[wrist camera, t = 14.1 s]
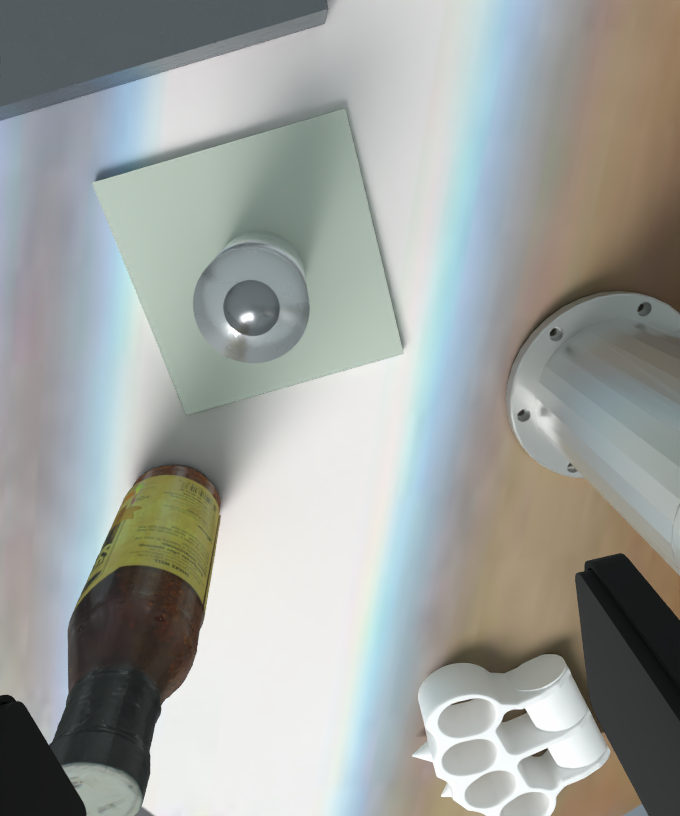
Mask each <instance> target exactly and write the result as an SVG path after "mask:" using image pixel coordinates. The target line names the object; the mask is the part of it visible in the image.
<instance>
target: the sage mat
mask: <svg viewBox="0 0 680 816" xmlns="http://www.w3.org/2000/svg"><path fill="white" fill-rule="evenodd" d="M92 184H93V187H94V189H95V192H96V194H97V197H98V199H99V202H100V204H101V207H102V209H103V212H104V214H105V216H106V219H107V221H108V224H109V226H110V229H111V231H112V234H113V236H114V239H115V241H116V243H117V246H118V248H119V251H120V253H121V256H122V258H123V261H124V263H125V266H126V268H127V271H128V273H129V275H130V278H131V280H132V283H133V285H134V288H135V290H136V293H137V295H138V298H139V300H140V303H141V305H142V307H143V310H144V312H145V315H146V317H147V320H148V322H149V325H150V327H151V330H152V332H153V335H154V337H155V339H156V342H157V344H158V347H159V349H160V352H161V354H162V357H163V359H164V362H165V364H166V367H167V369H168V371H169V374H170V376H171V379H172V381H173V384H174V386H175V389H176V391H177V394H178V396H179V399H180V401H181V403H182V406H183V408H184V411H185V413H186V415H190V414H193V413H197V412H200V411H204V410H207V409H211V408H214V407H218V406H221V405H225V404H228V403H232V402H235V401H239V400H243V399H246V398H250V397H253V396H257V395H260V394H264V393H267V392H271V391H274V390H278V389H281V388H285V387H288V386H292V385H295V384H299V383H302V382H306V381H309V380H313V379H316V378H320V377H324V376H327V375H331V374H334V373H338V372H341V371H345V370H348V369H352V368H355V367H359V366H362V365H366V364H369V363H373V362H376V361H380V360H383V359H387V358H390V357H394V356H397V355H401V354H404V353H403V349H402V345H401V341H400V336H399V332H398V328H397V324H396V319H395V315H394V311H393V307H392V303H391V298H390V294H389V290H388V286H387V282H386V277H385V273H384V269H383V265H382V260H381V256H380V252H379V248H378V244H377V239H376V235H375V231H374V227H373V223H372V218H371V214H370V210H369V206H368V201H367V197H366V193H365V189H364V185H363V180H362V176H361V172H360V168H359V164H358V159H357V155H356V151H355V147H354V142H353V138H352V134H351V130H350V126H349V121H348V117H347V113H346V109H345V108H344V109H341V110H337V111H334V112H330V113H327V114H324V115H320V116H317V117H313V118H310V119H307V120H303V121H300V122H297V123H293V124H290V125H286V126H283V127H280V128H276V129H273V130H269V131H266V132H263V133H259V134H256V135H252V136H249V137H246V138H242V139H239V140H235V141H232V142H229V143H225V144H222V145H218V146H215V147H212V148H208V149H205V150H201V151H198V152H195V153H191V154H188V155H185V156H181V157H178V158H174V159H171V160H168V161H164V162H161V163H157V164H154V165H151V166H147V167H144V168H140V169H137V170H134V171H130V172H127V173H123V174H120V175H117V176H113V177H110V178H106V179H103V180H100V181H96V182H93V183H92ZM254 230H264V231H270V232H273V233H276V234H278V235H280V236H282V237H283V238H285V239H286V240H288V241H289V242H290V243H291V244H292V245H293V246H294V247H295V249H296V250H297V252H298V253H299V255H300V257H301V260H302V263H303V267H304V272H305V278H306V284H307V290H308V296H309V304H310V313H309V319H308V323H307V327H306V329H305V331H304V334H303V335H302V337H301V339H300V340H299V341H298V343H297V344H296V345H295V346H294V347H293V348H292V349H291V350H290V351H289V352H287V353H286V354H284V355H283V356H281V357H279V358H277V359H274V360H272V361H268V362H264V363H244V362H239V361H235V360H232V359H230V358H228V357H226V356H224V355H222V354H220V353H219V352H218V351H216V350H215V349H214V348H213V347H212V346H211V345H210V344H209V343H208V342H207V341H206V340H205V338H204V337H203V335H202V334H201V332H200V330H199V328H198V326H197V324H196V320H195V317H194V311H193V296H194V291H195V287H196V284H197V282H198V280H199V278H200V276H201V274H202V273H203V271H204V270H205V269H206V267H207V266H208V265H209V264H210V263H211V262H212V261H213V260H214V259H215V257H216V256H217V255H218V254H219V253H220V252H221V251H222V250H223V249H224V247H225V246H226V245H227V244H228V243H229V242H230V241H231V240H232V239H234V238H235V237H237V236H238V235H240V234H243V233H245V232H249V231H254Z"/></svg>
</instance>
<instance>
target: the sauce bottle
mask: <svg viewBox="0 0 680 816" xmlns="http://www.w3.org/2000/svg"><path fill="white" fill-rule="evenodd" d="M220 504H221V502H220V497H219V495H218V492H217V490H216V488H215V487H214V485H213V484H212V483H211V482H210V481H209V480H208V479H207V478H206V477H205V476H204V475H203V474H201V473H200V472H198V471H197V470H194V469H192V468H190V467H186V466H180V465H165V466H160V467H156V468H154V469H151V470H149V471H148V472H147V473H145V474H144V475H143V476H141V477H139V478H138V479H137V481H136V482H135V484H134V485H133V487H132V488H131V489H130V490H129V492H128V493H127V495H126V496H125V498H124V500H123V502H122V505H121V507H120V509H119V511H118V513H117V516H116V518H115V520H114V522H113V525H112V527H111V529H110V531H109V534H108V536H107V538H106V540H105V542H104V544H103V546H102V549H101V551H100V554H99V555H98V557H97V559H96V562H95V565H94V566H93V569H92V571H91V573H90V576H89V578H88V580H87V583H86V585H85V587H84V589H83V591H82V593H81V596H80V598H79V600H78V602H77V604H76V607H75V610H74V612H73V614H72V617H71V619H70V622H69V627H68V688H69V694H68V697H67V701H66V708H65V710H64V713H63V715H62V718H61V721H60V723H59V725H58V728H57V731H56V733H55V737H54V739H53V742H52V743H51V744H50V745H49V746H50V748H51V750H52V751H53V753H54V755H55V756H56V758H57V760H58V761H59V763H60V765H61V766H62V768H63V769H64V771H65V773H66V774H67V776H68V778H69V779H70V781H71V783H72V784H73V786H74V788H75V789H76V791H77V793H78V794H79V796H80V798H81V799H82V801H83V803H84V805H85V807H86V813H87V816H135V815H136V813H137V812H138V811H139V809H140V808H141V806H142V803H143V799H144V796H145V792H146V788H147V783H148V780H149V776H150V753H149V751H150V746H151V742H152V738H153V733H154V727H155V723H156V722H157V720H158V718H159V716H160V714H161V705H162V703H163V702H164V700H165V699H166V698H168V697H170V695H171V694H172V693H173V692H175V691H176V690H177V689H178V688H179V687H180V686H181V685H182V683H183V682H184V680H185V679H186V677H187V675H188V673H189V671H190V669H191V667H192V665H193V661H194V658H195V655H196V652H197V645H198V637H199V631H200V628H201V626H202V624H203V621H204V616H205V610H206V604H207V598H208V592H209V586H210V580H211V574H212V568H213V562H214V556H215V550H216V544H217V537H218V531H219V525H220V518H221V516H220V515H219V512H220Z"/></svg>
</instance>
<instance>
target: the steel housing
mask: <svg viewBox="0 0 680 816" xmlns="http://www.w3.org/2000/svg"><path fill="white" fill-rule="evenodd" d="M327 11H328V7H327V2H326V0H0V121H1V120H4V119H7V118H11V117H14V116H17V115H21V114H24V113H27V112H31V111H34V110H38V109H41V108H44V107H48V106H51V105H54V104H58V103H61V102H64V101H68V100H71V99H74V98H78V97H81V96H84V95H88V94H91V93H95V92H98V91H101V90H105V89H108V88H111V87H115V86H118V85H121V84H125V83H128V82H131V81H135V80H138V79H141V78H145V77H148V76H151V75H155V74H158V73H162V72H165V71H168V70H172V69H175V68H178V67H182V66H185V65H188V64H192V63H195V62H198V61H202V60H205V59H208V58H212V57H215V56H219V55H222V54H225V53H229V52H232V51H235V50H239V49H242V48H245V47H249V46H252V45H255V44H259V43H262V42H265V41H269V40H272V39H276V38H279V37H282V36H286V35H289V34H292V33H296V32H299V31H302V30H306V29H309V28H312V27H316V26H319V25H322V24H324V23H325V19H326V15H327Z"/></svg>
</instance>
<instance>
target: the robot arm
mask: <svg viewBox="0 0 680 816" xmlns="http://www.w3.org/2000/svg"><path fill="white" fill-rule="evenodd" d="M638 307H639V308H638ZM553 328H554V332H553V333H552V334H550V332H551V330H552V329H553ZM506 407H507V415H508V420H509V423H510V425H511V428H512V431H513V433H514V435H515V437H516V438H517V440H518V441H519V443H520V445H521V446H522V447H523V448H524V449H525V451H526V452H527V453H528V454H529V455H530V456H531V457H532V458H533V459H534V460H535V461H537V462H538V463H539V464H540V465H542V466H543V467H545V468H547V469H549V470H551V471H553V472H555V473H557V474H561V475H564V476H568V477H574V478H585V479H586V480H587V481H588V482H589V483H590V484H591V485H592V486H593V487H594V488H595V489H596V490H597V491H598V492H599V493H600V494H601V495H602V496H603V497H604V498H605V499H606V500H607V501H608V502H609V503H610V504H611V505H612V506H613V507H614V508H615V509H616V510H617V512H618V513H619V514H620V515H621V516H622V517H623V518H624V519H625V520H626V521H627V522H628V523H629V524H630V525H631V526H632V527H633V528H634V529H635V530H636V531H637V532H638V533H639V534H640V535H641V536H642V537H643V538H644V539H645V540H646V541H647V542H648V543H649V544H650V546H651V547H652V548H653V549H654V550H655V551H656V552H657V553H658V554H659V555H660V556H661V557H662V558H663V559H664V560H665V561H666V562H667V563H668V564H669V565H670V566H671V567H672V568H673V569H674V570H675V571H676V572H677V573H678V574H679V575H680V313H679V312H677V311H676V310H675V309H674V308H673V307H671V306H670V305H668V304H666V303H664V302H662V301H660V300H658V299H656V298H653V297H650V296H647V295H644V294H640V293H636V292H627V291H610V292H600V293H597V294H593V295H590V296H586V297H583V298H580V299H578V300H576V301H574V302H572V303H570V304H568V305H566V306H564V307H562V308H561V309H559V310H558V311H556V312H555V313H554V314H552V315H551V316H549V317H548V318H547V319H546V320H545V321H544V322H543V323H542V324H541V325H540V326H539V327H538V328H537V329H536V330H535V331H534V332H532V334H531V335H530V337H529V338H528V339H527V341H526V342H525V344H524V345H523V346H522V348H521V349H520V351H519V353H518V355H517V357H516V359H515V362H514V364H513V366H512V369H511V372H510V376H509V379H508V383H507V393H506ZM521 410H522V411H521ZM519 411H521V412H520V413H519ZM575 581H576V590H577V599H578V607H579V616H580V624H581V633H582V641H583V650H584V658H585V667H586V675H587V684H588V692H589V697H590V701H591V704H592V707H593V710H594V712H595V715H596V717H597V719H598V721H599V723H600V725H601V727H602V728H603V730H604V732H605V734H606V736H607V738H608V740H609V742H610V744H611V745H612V747H613V749H614V751H615V753H616V755H617V757H618V759H619V761H620V762H621V764H622V766H623V768H624V770H625V772H626V774H627V776H628V778H629V779H630V781H631V783H632V785H633V787H634V789H635V791H636V793H637V795H638V796H639V798H640V800H641V802H642V804H643V806H644V808H645V810H646V811H647V813H648V815H649V816H680V620H679V619H678V618H677V617H676V615H675V614H674V613H673V612H672V611H671V609H670V608H669V607H668V606H667V605H666V603H665V602H664V601H663V600H662V599H661V597H660V596H659V595H658V594H657V593H656V591H655V590H654V589H653V588H652V587H651V585H650V584H649V583H648V582H647V581H646V579H645V578H644V577H643V576H642V575H641V573H640V572H639V571H638V570H637V569H636V567H635V566H634V565H633V564H632V563H631V561H630V560H629V559H628V558H627V557H626V556H625V555H624V554H621V553H619V554H615V555H611V556H606V557H602V558H598V559H593V560H589V561H586V562H585V571H584V572H579V573H576V575H575ZM0 816H87V813H86V807H85V805H84V803H83V801H82V799H81V798H80V796H79V794H78V793H77V791H76V789H75V788H74V786H73V784H72V783H71V781H70V779H69V778H68V776H67V774H66V773H65V771H64V769H63V768H62V766H61V765H60V763H59V761H58V760H57V758H56V756H55V755H54V753H53V751H52V750H51V748H50V746H49V745H48V743H47V741H46V740H45V738H44V736H43V735H42V733H41V731H40V730H39V728H38V726H37V725H36V723H35V722H34V720H33V718H32V717H31V715H30V713H29V712H28V710H27V708H26V707H25V705H24V704H23V703H22V702H19V701H17V702H16V700H15V699H14V698H13V697H12V696H9V695H1V696H0Z"/></svg>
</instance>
